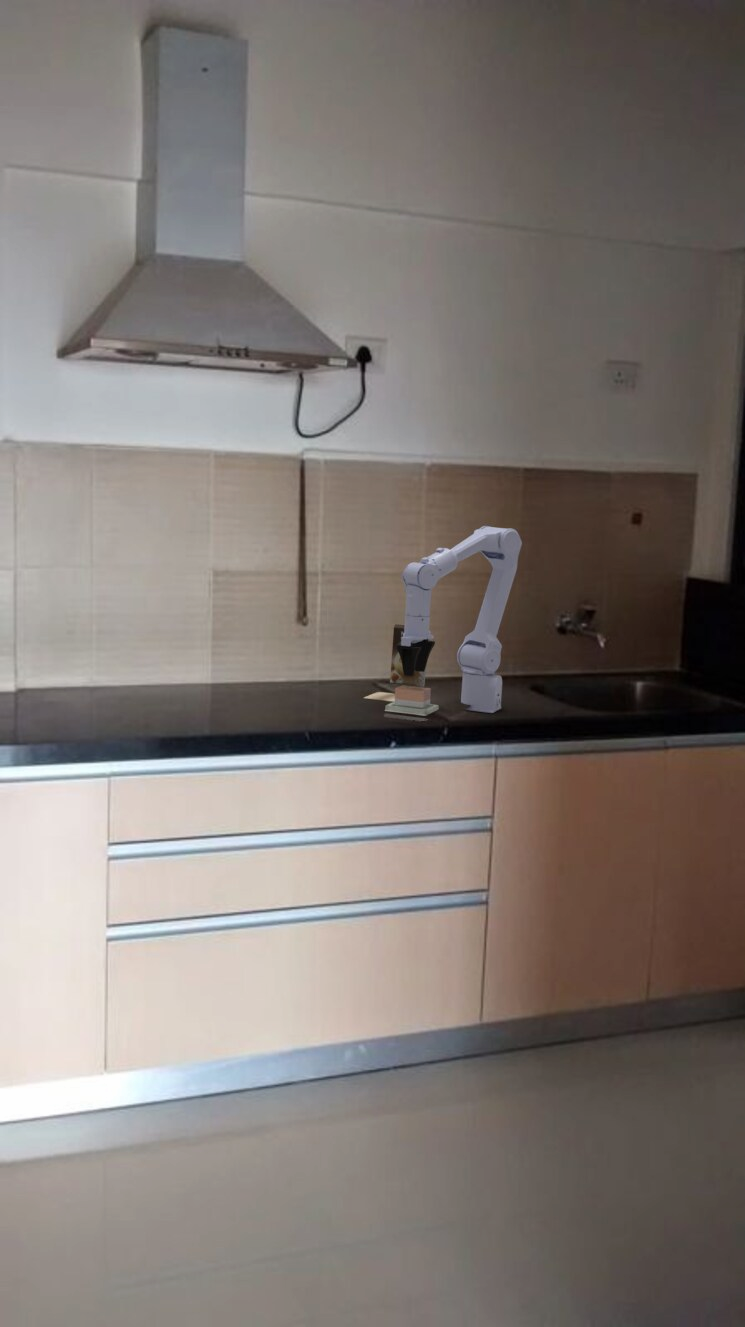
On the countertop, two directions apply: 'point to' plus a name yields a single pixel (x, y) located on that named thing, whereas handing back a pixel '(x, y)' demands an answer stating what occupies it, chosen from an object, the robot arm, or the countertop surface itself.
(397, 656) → the coffee box
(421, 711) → the stand
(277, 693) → the countertop surface
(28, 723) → the countertop surface
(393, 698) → the stand
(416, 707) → the housing
